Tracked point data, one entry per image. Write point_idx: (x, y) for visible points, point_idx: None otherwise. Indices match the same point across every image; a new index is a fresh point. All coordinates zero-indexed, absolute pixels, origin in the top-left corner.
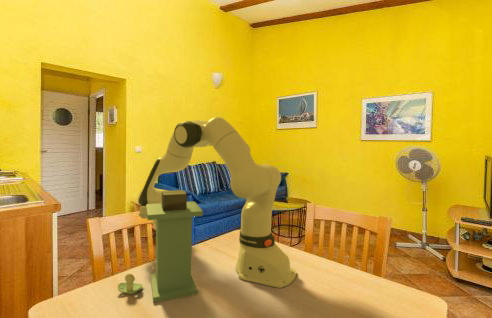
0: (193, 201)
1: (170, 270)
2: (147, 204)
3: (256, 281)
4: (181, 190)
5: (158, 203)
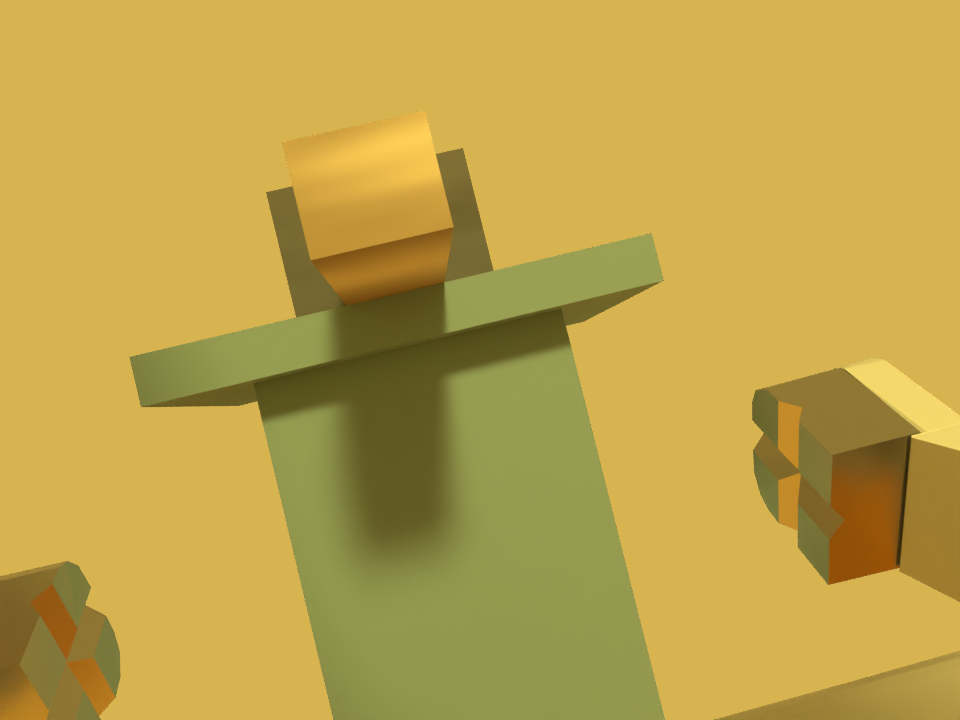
0: (144, 354)
1: None
2: (635, 239)
3: None
4: (291, 191)
5: (529, 262)
